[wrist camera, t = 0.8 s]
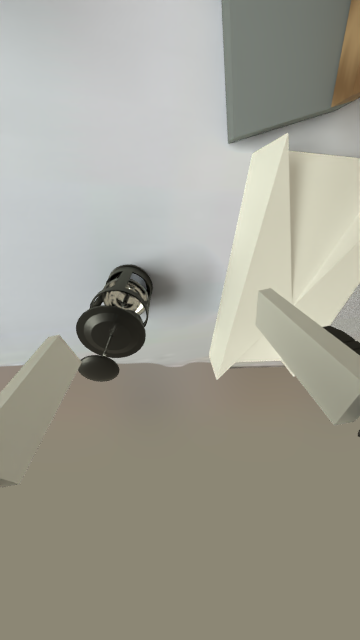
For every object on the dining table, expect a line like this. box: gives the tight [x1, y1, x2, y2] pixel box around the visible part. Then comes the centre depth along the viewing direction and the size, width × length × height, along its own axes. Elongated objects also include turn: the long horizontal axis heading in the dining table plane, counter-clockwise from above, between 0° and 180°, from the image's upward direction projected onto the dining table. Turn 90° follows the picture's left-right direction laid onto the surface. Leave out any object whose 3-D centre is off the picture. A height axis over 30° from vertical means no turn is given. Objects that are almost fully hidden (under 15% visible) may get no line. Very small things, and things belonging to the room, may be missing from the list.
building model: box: [209, 133, 360, 380], centre depth 36 cm, size 45×22×10 cm, turn 177°
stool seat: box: [222, 0, 352, 143], centre depth 18 cm, size 18×16×2 cm
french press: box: [76, 265, 153, 382], centre depth 27 cm, size 12×9×23 cm
